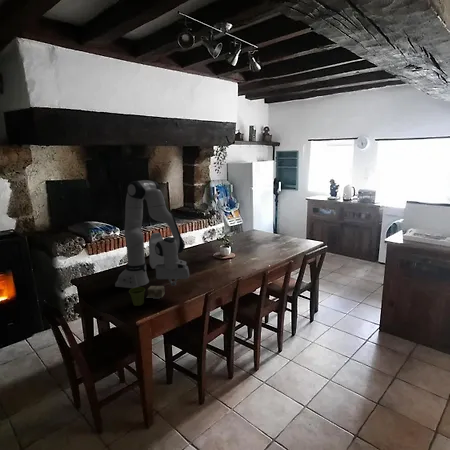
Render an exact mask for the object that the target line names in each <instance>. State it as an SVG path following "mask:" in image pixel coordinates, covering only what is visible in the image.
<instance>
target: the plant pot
mask: <svg viewBox="0 0 450 450" xmlns="http://www.w3.org/2000/svg"><path fill="white" fill-rule="evenodd" d="M128 293H129V294H130V297H131V298H130V299H131V301H132V304H133V306H135V307H139V306H143V305H144V303H145V293H146V288H145V287H143V286H139V287H135V288H129V290H128Z"/></svg>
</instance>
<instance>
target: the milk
mask: <svg viewBox="0 0 450 450" xmlns="http://www.w3.org/2000/svg"><path fill="white" fill-rule="evenodd" d="M163 239H164V238H163V236H162V235H161V232H153V233H151V235H150V238H149V240H148V251H149V254H148V255H149V256H148V257H149V266H150V267H151V269H152V270H153V269H155V266H156V265H157V264H164V257H163V256H159V255H158V254H156V250H155V245H156V243H157V242H159V241H162V240H163Z"/></svg>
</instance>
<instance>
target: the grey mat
mask: <svg viewBox="0 0 450 450" xmlns="http://www.w3.org/2000/svg"><path fill="white" fill-rule="evenodd" d="M146 298H153V299H154V300H155V299H158V300H161V299H162V297H148V295H147V296H145V299H146ZM160 298H161V299H160ZM153 299H152V300H153Z"/></svg>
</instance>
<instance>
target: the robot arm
mask: <svg viewBox="0 0 450 450" xmlns="http://www.w3.org/2000/svg"><path fill="white" fill-rule="evenodd" d="M126 191H127V192H126V197H125V209H124V210H125V211H124V212H125V213H124V215H125V216H124V218H125V219H124V220H125V221H124V234H123V235H124V237H125V241H126V255H127V256H126V258H127V263H126V264H125V266H124V270H122V272H121V273H120V274H119V275H118V278H117V280H116V281H115V283H114V287H116V288H125V289H132V288H135V287H143V286H145V285H147V284H149V283H150V280H149V277H148V274H147V262H146V259H145V240H144V238H145V237H144V234H143V231H142V228H143V227H142V226H143V219H144V217H143V216H144V200H145V201H146V205H147V209H148V210H147V211H148V214H149V217H150V218H151V219H152V220H154V221H157V222H161V223H164V224H167V226H168V227H169V229H170V232H171V235H172V236H166V237H164V238H163V240H162V241H159V242H157V243H156V245H155V250H156V254H158V255H159V256H163V257H164V264H157V265H156V266H155V268H154V269H155V278H156V279H157V280H168V282H169V283H170V286H177V281H178V280H181V279H182V280H183V279H184V280H185V279H189V277H190V270H189V266H188V265H187V261H186V260H182V259H179V256H178V254H181V253H183V251H184V249H185V247H186V246H185V242H184V240H183V238H182V237H183V236H182V235H181V232H180V229H179V227H178V225H177V222H176V219H175V216H174V214H173V213H172V212H170V211H169V210H168V208H167V205H166V201H165V197H164V194H163V192H162V190H161V189H160V184H159V183H158V182H157V181H155V180H152V179H151V180H150V179H149V180H147V179H143V180H133V181H130V182H129V183H128V185H127V187H126ZM172 280H174V281H172Z"/></svg>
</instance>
